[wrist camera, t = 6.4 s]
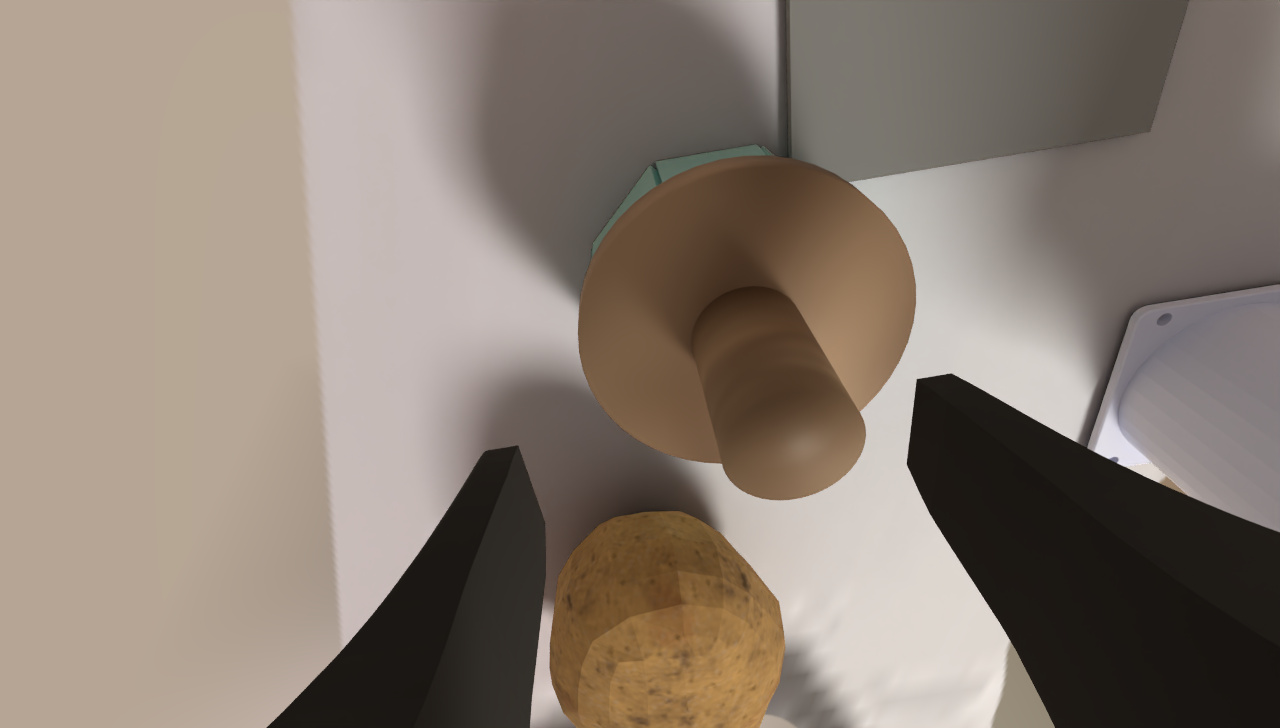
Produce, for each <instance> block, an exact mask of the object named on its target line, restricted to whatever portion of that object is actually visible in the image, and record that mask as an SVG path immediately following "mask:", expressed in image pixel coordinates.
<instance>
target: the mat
mask: <svg viewBox="0 0 1280 728" xmlns="http://www.w3.org/2000/svg"><path fill="white" fill-rule="evenodd" d="M1188 2H1189V0H786V42H787V108H788V158H793V159H796V160H800V161H804V162H807V163H811V164H815V165H817V166H819V167H821V168H824V169H826V170H828V171H830V172H833V173H835V174H836V175H838V176H839V177H841V178H842V179H844V180H846V181H847V182H852V181H858V180H864V179H870V178H876V177H882V176H888V175H894V174H900V173H906V172H912V171H918V170H924V169H930V168H936V167H942V166H948V165H954V164H960V163H966V162H972V161H978V160H984V159H990V158H996V157H1002V156H1008V155H1014V154H1020V153H1026V152H1032V151H1038V150H1044V149H1050V148H1056V147H1061V146H1067V145H1073V144H1079V143H1085V142H1091V141H1097V140H1103V139H1109V138H1115V137H1121V136H1127V135H1133V134H1139V133H1145V132H1150V130H1151V127H1152V123H1153V120H1154V116H1155V113H1156V110H1157V106H1158V103H1159V100H1160V96H1161V93H1162V89H1163V86H1164V83H1165V79H1166V76H1167V73H1168V69H1169V66H1170V63H1171V59H1172V56H1173V52H1174V49H1175V46H1176V42H1177V39H1178V36H1179V32H1180V29H1181V25H1182V22H1183V19H1184V15H1185V12H1186V9H1187V5H1188Z"/></svg>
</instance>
